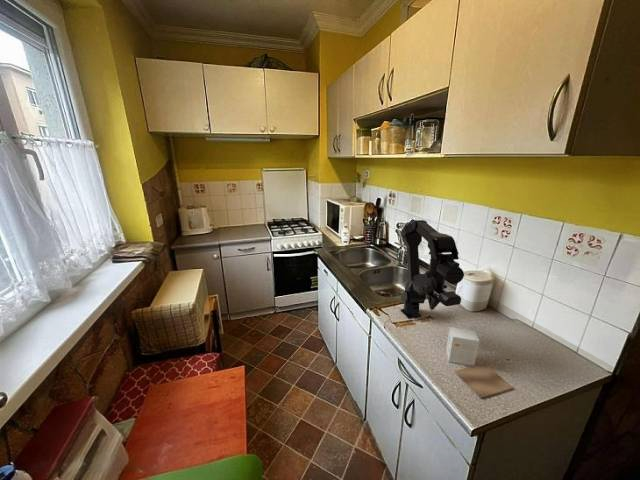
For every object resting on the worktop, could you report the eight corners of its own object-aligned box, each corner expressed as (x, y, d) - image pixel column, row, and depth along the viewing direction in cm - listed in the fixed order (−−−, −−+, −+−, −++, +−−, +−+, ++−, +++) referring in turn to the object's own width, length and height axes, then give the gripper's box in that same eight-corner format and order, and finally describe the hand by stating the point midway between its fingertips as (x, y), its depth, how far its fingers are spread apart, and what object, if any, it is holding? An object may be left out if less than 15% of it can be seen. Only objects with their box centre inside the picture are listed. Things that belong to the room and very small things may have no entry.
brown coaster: (454, 372, 83) (455, 370, 83) (484, 364, 86) (484, 362, 86) (481, 399, 74) (481, 397, 74) (512, 388, 77) (513, 387, 77)
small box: (469, 355, 90) (475, 330, 87) (474, 367, 85) (480, 340, 82) (445, 350, 92) (449, 326, 89) (448, 362, 87) (452, 336, 84)
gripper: (402, 263, 96) (398, 299, 101) (436, 285, 79) (430, 328, 84) (427, 259, 99) (422, 295, 104) (466, 281, 82) (458, 322, 87)
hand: (431, 309), depth 95 cm, fingers closed
